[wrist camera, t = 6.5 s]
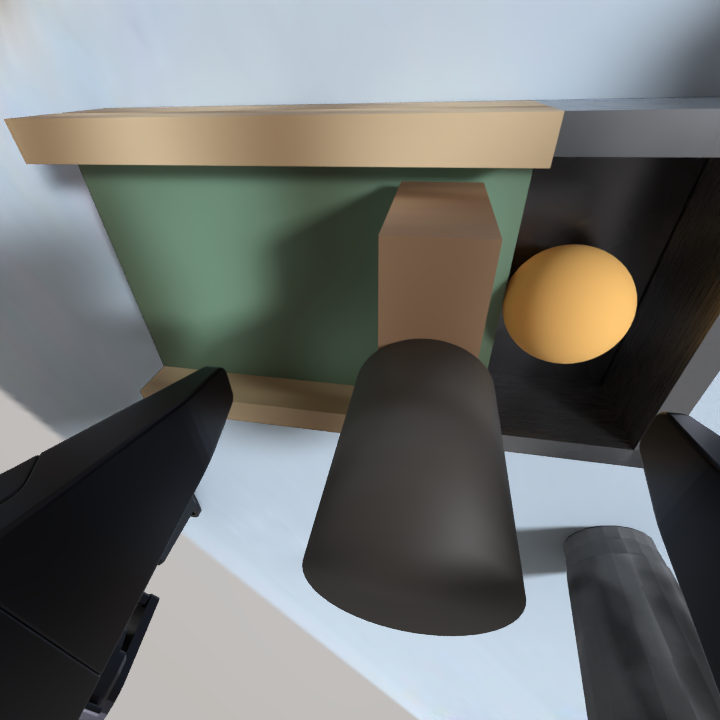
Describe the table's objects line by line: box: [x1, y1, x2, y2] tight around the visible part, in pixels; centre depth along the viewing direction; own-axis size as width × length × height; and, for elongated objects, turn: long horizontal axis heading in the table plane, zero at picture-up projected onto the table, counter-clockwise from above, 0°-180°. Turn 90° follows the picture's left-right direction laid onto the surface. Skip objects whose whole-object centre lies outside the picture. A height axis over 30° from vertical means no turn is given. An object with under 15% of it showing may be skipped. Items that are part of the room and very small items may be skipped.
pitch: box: [4, 100, 565, 433], centre depth 13 cm, size 13×10×4 cm
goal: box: [487, 97, 720, 468], centre depth 11 cm, size 6×10×4 cm, turn 1°
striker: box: [302, 181, 526, 636], centre depth 8 cm, size 3×7×8 cm, turn 2°
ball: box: [502, 244, 637, 364], centre depth 11 cm, size 4×4×4 cm
